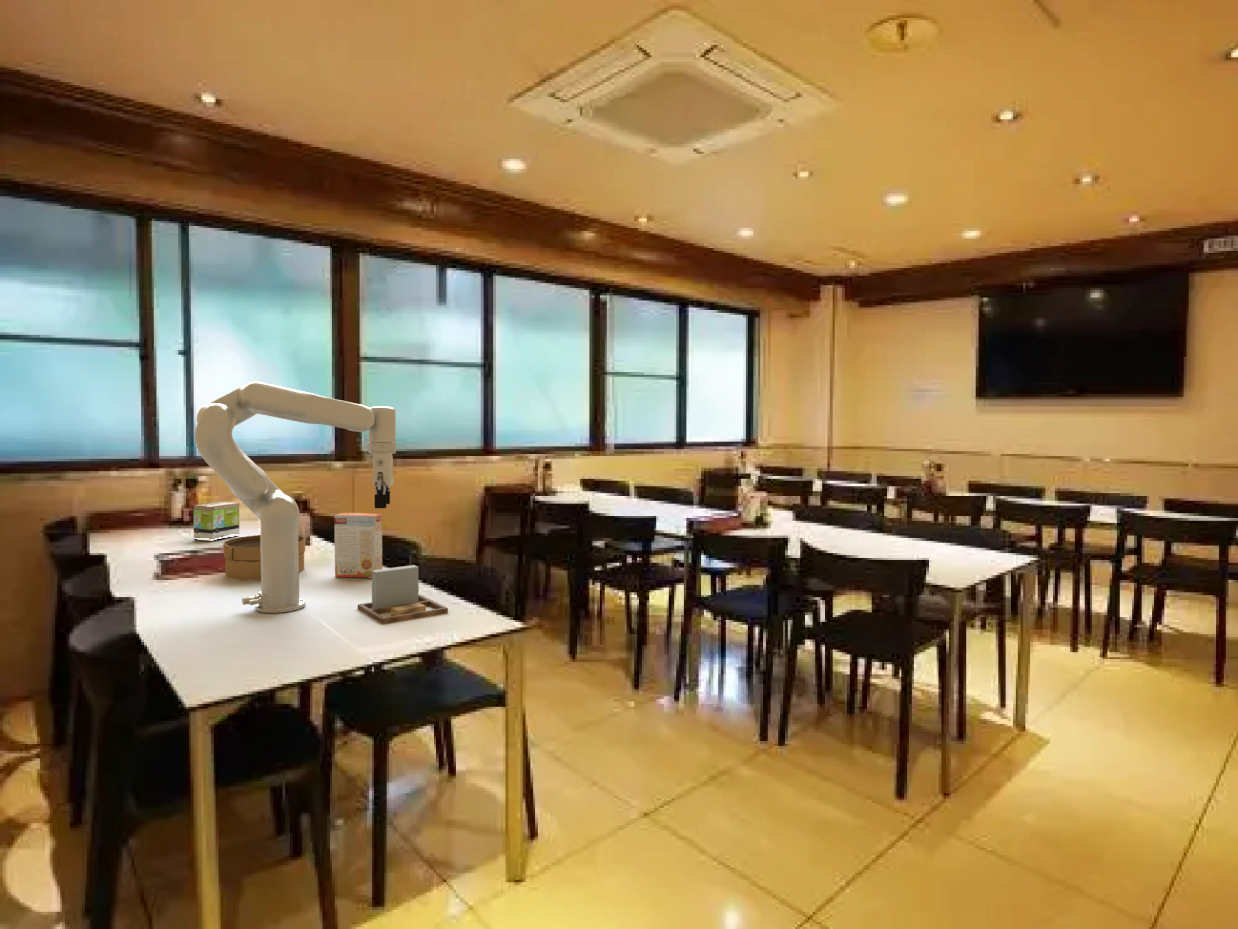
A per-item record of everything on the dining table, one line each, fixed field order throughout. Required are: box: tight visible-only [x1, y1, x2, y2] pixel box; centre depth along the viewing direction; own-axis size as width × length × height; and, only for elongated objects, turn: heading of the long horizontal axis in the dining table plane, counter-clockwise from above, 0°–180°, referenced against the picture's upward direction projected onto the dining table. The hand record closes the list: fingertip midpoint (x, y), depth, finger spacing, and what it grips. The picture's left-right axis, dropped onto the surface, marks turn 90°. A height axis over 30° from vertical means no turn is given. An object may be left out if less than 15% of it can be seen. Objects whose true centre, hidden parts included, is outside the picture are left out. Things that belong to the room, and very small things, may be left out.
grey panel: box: [371, 564, 420, 609], centre depth 201 cm, size 12×3×12 cm, turn 129°
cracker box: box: [333, 512, 383, 579], centre depth 242 cm, size 14×6×21 cm, turn 84°
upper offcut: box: [390, 603, 427, 616], centre depth 195 cm, size 8×4×2 cm, turn 133°
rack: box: [357, 594, 449, 625], centre depth 198 cm, size 18×18×2 cm
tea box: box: [193, 501, 240, 539], centre depth 308 cm, size 15×10×15 cm, turn 167°
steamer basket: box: [223, 534, 306, 581], centre depth 247 cm, size 25×25×11 cm
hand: (382, 506), depth 217 cm, fingers open, 9 cm apart
